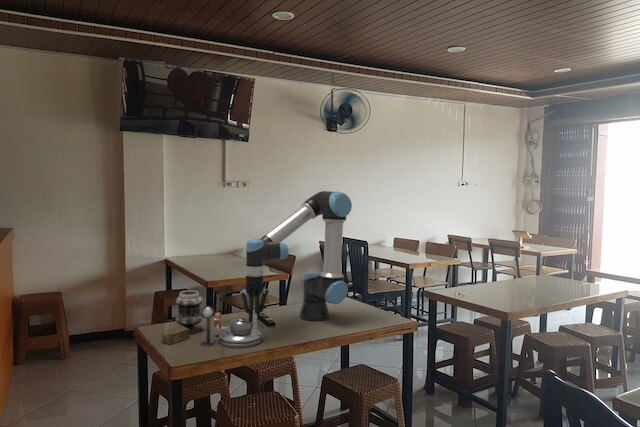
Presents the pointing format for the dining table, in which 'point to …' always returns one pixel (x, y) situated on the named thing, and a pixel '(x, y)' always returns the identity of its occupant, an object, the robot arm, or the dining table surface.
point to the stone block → (175, 335)
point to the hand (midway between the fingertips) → (253, 328)
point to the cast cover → (241, 326)
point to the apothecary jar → (189, 310)
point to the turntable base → (239, 345)
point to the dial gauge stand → (208, 325)
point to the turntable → (232, 338)
